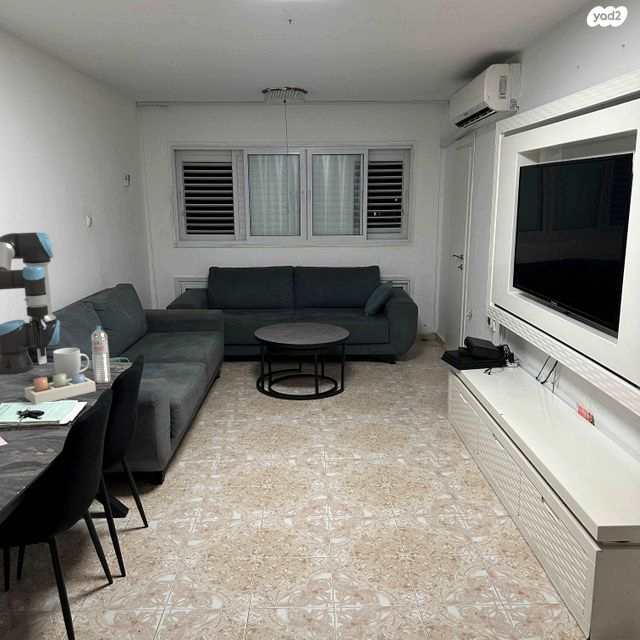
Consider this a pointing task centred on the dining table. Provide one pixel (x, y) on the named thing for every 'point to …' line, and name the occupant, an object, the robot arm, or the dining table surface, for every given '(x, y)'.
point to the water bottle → (100, 356)
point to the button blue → (78, 378)
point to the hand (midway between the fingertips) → (42, 363)
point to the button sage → (59, 380)
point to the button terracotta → (40, 384)
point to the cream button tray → (59, 391)
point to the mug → (68, 361)
